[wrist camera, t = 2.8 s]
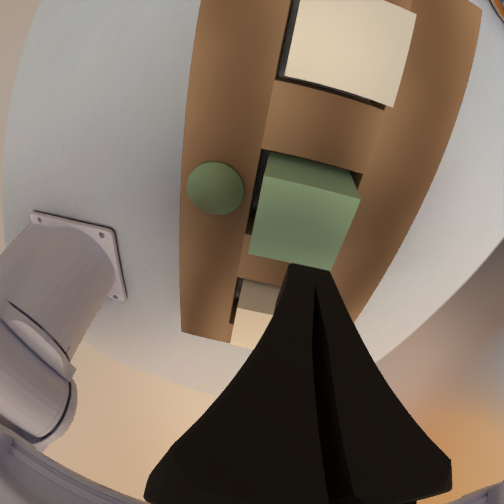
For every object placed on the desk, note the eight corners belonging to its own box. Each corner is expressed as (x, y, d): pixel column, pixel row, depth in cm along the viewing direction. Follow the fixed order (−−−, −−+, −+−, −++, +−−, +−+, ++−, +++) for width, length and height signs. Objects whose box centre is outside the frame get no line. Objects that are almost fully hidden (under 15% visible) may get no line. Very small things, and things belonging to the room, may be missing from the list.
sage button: (255, 219, 16) (248, 253, 14) (270, 151, 13) (263, 175, 11) (326, 235, 16) (330, 271, 14) (349, 171, 13) (360, 199, 11)
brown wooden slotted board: (189, 308, 24) (180, 334, 22) (229, -55, 8) (215, -74, 5) (326, 335, 24) (327, 363, 22) (458, 12, 7) (485, 9, 5)
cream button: (237, 310, 21) (229, 344, 19) (245, 271, 18) (237, 307, 16) (290, 321, 21) (288, 355, 19) (306, 284, 18) (306, 321, 16)
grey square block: (286, 72, 11) (284, 75, 8) (302, -6, 8) (305, -23, 6) (372, 96, 11) (392, 107, 8) (391, 21, 8) (416, 14, 6)
